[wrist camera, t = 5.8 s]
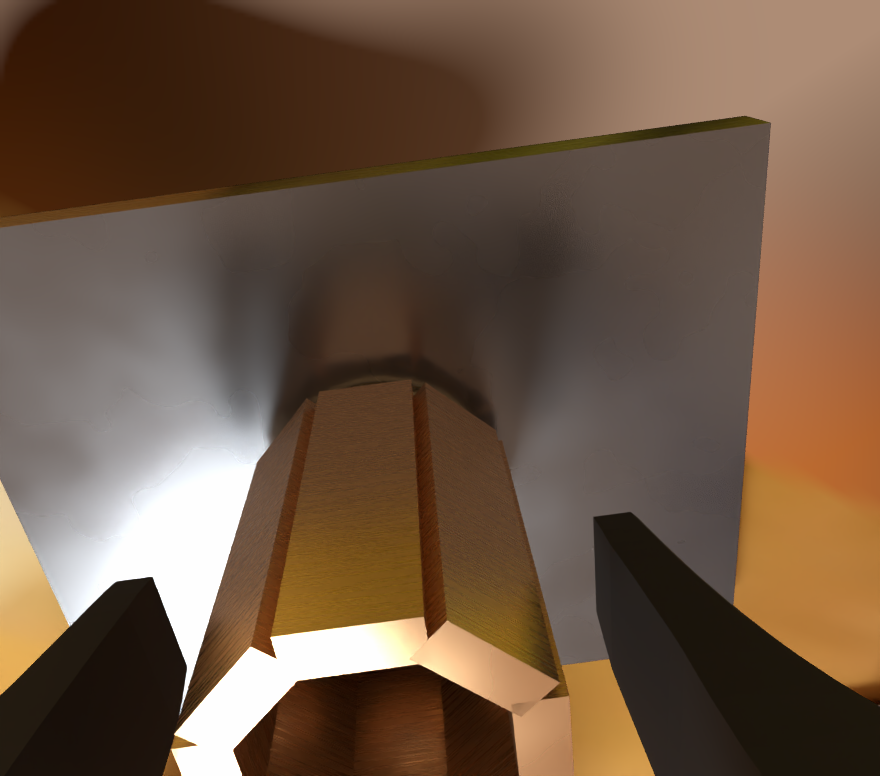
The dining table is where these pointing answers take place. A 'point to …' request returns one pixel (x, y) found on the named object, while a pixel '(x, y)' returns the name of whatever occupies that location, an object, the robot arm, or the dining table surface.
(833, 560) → the dining table surface
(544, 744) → the brown hollow prism
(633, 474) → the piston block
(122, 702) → the robot arm
